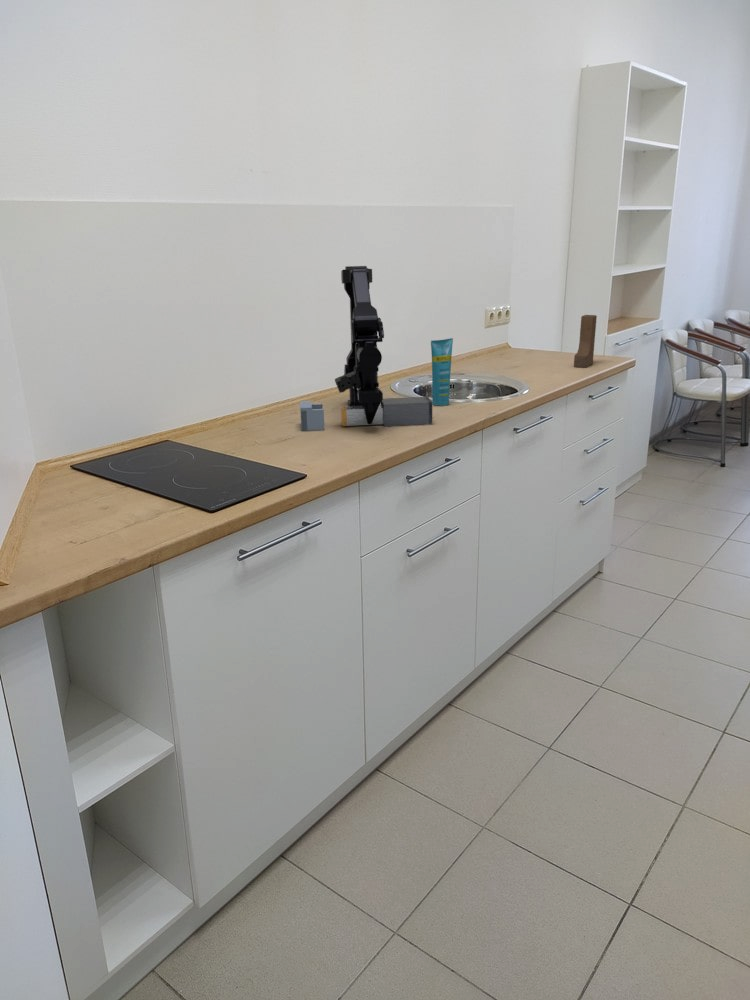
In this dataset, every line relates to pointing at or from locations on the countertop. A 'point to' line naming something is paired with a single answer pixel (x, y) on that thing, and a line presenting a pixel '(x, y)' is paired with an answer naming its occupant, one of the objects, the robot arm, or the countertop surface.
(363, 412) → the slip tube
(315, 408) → the blue-grey u-shaped block
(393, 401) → the sleeve
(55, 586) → the countertop surface
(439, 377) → the tube
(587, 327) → the wooden block
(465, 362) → the countertop surface
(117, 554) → the countertop surface
